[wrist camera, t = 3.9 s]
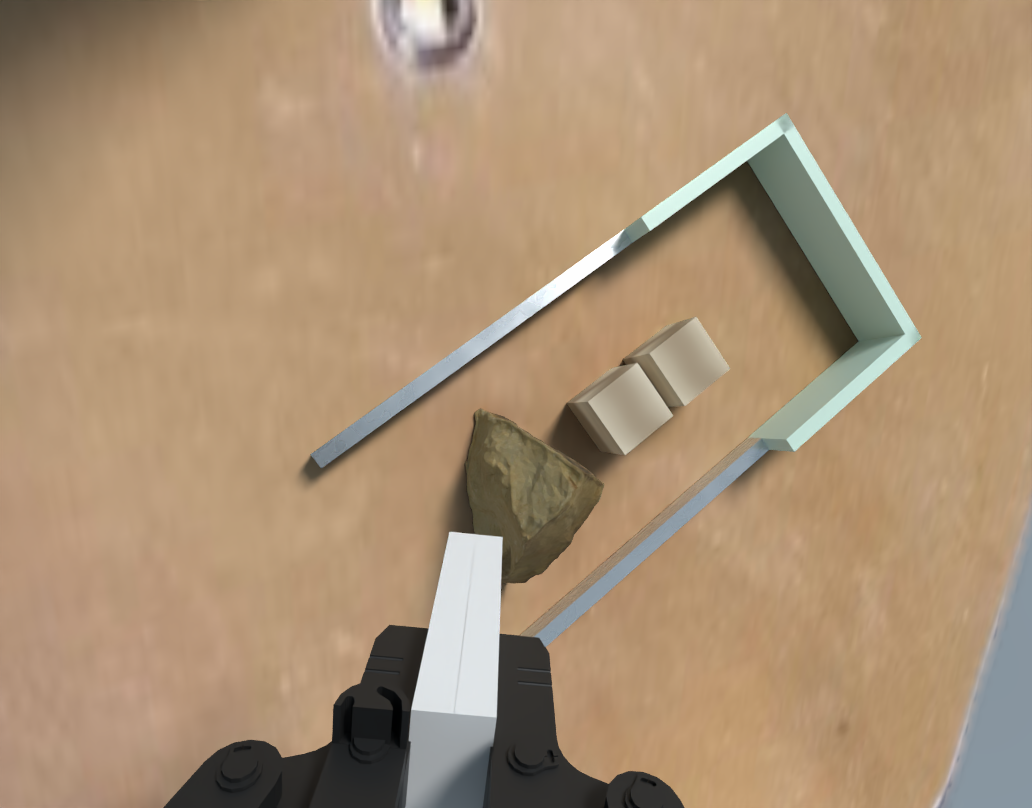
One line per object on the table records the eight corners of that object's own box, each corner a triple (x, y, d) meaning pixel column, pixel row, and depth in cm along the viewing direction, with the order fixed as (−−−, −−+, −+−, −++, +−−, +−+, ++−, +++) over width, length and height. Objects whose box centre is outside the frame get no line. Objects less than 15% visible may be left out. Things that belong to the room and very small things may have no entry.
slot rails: (490, 680, 37) (495, 691, 36) (312, 453, 35) (310, 454, 34) (755, 448, 42) (768, 449, 41) (614, 236, 40) (623, 229, 39)
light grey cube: (600, 451, 40) (625, 455, 36) (566, 403, 39) (587, 401, 35) (643, 415, 41) (673, 415, 37) (611, 368, 40) (637, 362, 36)
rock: (543, 629, 36) (631, 499, 36) (490, 642, 29) (601, 478, 29) (427, 528, 41) (506, 413, 41) (355, 516, 33) (452, 376, 34)
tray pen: (755, 448, 42) (794, 451, 39) (614, 236, 40) (641, 217, 36) (874, 344, 45) (921, 337, 41) (748, 140, 43) (786, 112, 39)
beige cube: (654, 407, 41) (684, 405, 37) (622, 359, 40) (649, 353, 36) (696, 373, 42) (730, 368, 38) (665, 326, 41) (696, 316, 37)
